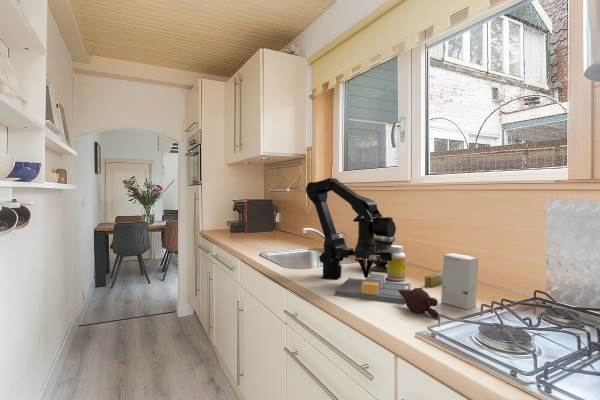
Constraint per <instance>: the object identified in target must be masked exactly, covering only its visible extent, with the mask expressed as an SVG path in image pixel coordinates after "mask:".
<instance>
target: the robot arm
mask: <svg viewBox="0 0 600 400" xmlns="http://www.w3.org/2000/svg"><path fill="white" fill-rule="evenodd" d="M305 192H306V195H307V197H308V199H309V200H310V201H311V202H312V203H313V205H314V207H315V210H316V213H317V215H318V220H319V223H320V226H321V230H322V233H323V235H324V242H323V250H324V251H323V252H322V253H321V254H320V255H319V257H318V259H319V262H320V263H322V275H321V279H329V280H339V279H340V278H341V277H342V265H341V262H343V261H344V258H347V259H348V258H349V257H350V256H351V257H354V256H355V258H354V261H356V262H358V264H359V266H360V268H361V271H362V273H363V276H364V277H363V278H364V279H366V278H367V277H368V276H370V273H371V271H370V269H371V267H373V265H374V263H373V262H376V261H377V259H378V258H377V257H379V258H381V260H383V261H392V260H393V258H394V252H393V251H389V250H382V251H381V252H376V246H375V245H374V234H375V235H376V236H384V237H393V236H395V235H396V230H397V227H396V224H395V222H394V221H393V219H394V218H393V217H392V216H387V217H384V216H383V214H382V213H381V211H380V210H379V208H378V204H377V202H376V201H375V200H374V199H371V198H369V197H366V196H362V195H359V194H358V193H356V192H355V191H353V190H352V189H351V188H350V187H348V186H346V185H345V184H343V183H342V182H341V181H339V180H338V179H337V178H336V177H328V178H326V179H323V180H319V181H310V182H308V183H307V185H306V187H305ZM328 192H333V193H335V194H336V195H338V196H339V197H340V198H342V199H343V200H344V201H345V202H347V203H349V205H350V206H351V208H352V210H353V211H354V212H355V213H356V214H357V215H356V216H355V218H354V219H353V220H352V221H353V222H355V223H358V227H357V228H358V229H357V231H358V232H357V233H358V234H357V244H356V245H355V248H353V247H348V246H347V244H346V242H345V238H344V237H340V236H339V235H338V234H337V230H336V227H335V224H334V221H333V218H332V214H331V211H330V208H329V205H328V203H327V200H328V199H327V198H328V196H329V195H328ZM368 258H369V259H368Z"/></svg>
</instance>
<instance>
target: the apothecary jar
mask: <svg viewBox="0 0 600 400" xmlns="http://www.w3.org/2000/svg"><path fill="white" fill-rule="evenodd" d="M395 241H396V236H395V235H394V236H393V237H384V236H376V235H375V234H374V245H375V246H376V252H381V251H382V250H389V251H391V249H390V246H393V243H394V242H395ZM377 258H378V259H377V261H376V262H373V265H372V266H371V269H370V272H378V273H386V274H388V261H383V260H381V258H379V257H377ZM368 259H369V258H368ZM368 259H367V260H368Z"/></svg>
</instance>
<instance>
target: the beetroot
mask: <svg viewBox="0 0 600 400" xmlns="http://www.w3.org/2000/svg"><path fill="white" fill-rule="evenodd" d="M399 293H400V294H401V295H402V296H403V298H404V299H405V303H406V304H405V305H406V307H407V308H408V310H409V311H411V312H413V311H414V312H416V313H419V314H421V313H424V312H426V313H427V314H428V315H429V316H430V317H431V318H433V319H436V320H437V319H439V318H438V316H439V317H440V314H439V312H438V311H437V310H436V309H434V308H432V307H437V306H438V303H439V302H438V299H436V298H434V297H431V296H430V295H429V293H428V292H427V291H425V289H423V288H422V287H415V288H413V289H410V290H399Z"/></svg>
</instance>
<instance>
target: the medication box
mask: <svg viewBox="0 0 600 400" xmlns="http://www.w3.org/2000/svg"><path fill="white" fill-rule="evenodd" d="M442 280H443V271H439V272H436V273H432V274H429V275H425V276H424V287H427V288H436V287H440V286H442ZM439 285H440V286H439Z"/></svg>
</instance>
